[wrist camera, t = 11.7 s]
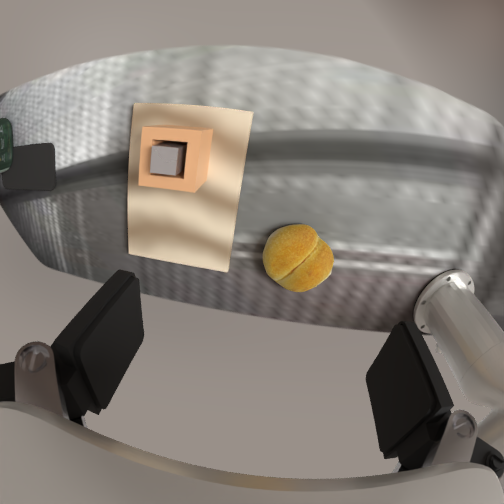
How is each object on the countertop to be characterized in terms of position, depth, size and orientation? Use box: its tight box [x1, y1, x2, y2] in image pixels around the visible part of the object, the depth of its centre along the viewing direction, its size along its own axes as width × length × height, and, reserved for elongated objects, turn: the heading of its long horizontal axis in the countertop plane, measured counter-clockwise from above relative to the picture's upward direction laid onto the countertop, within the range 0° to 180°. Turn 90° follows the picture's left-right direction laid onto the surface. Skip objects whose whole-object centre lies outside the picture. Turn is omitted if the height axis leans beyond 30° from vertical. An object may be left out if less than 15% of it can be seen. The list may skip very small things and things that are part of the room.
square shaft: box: [150, 141, 188, 176], centre depth 26 cm, size 3×3×6 cm
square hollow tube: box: [138, 125, 213, 193], centre depth 27 cm, size 6×6×6 cm
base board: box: [128, 103, 253, 272], centre depth 32 cm, size 20×14×1 cm
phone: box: [2, 143, 56, 191], centre depth 31 cm, size 7×1×15 cm
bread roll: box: [263, 224, 334, 292], centre depth 34 cm, size 8×9×4 cm
